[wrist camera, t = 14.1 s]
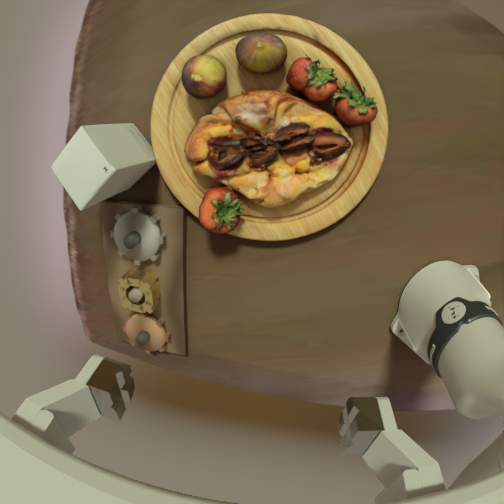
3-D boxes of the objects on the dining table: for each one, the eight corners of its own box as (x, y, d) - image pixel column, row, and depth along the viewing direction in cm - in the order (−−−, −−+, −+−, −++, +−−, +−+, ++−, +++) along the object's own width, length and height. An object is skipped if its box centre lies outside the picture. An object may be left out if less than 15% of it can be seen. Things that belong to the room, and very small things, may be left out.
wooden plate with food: (269, 278, 45) (267, 308, 38) (115, 137, 39) (84, 140, 31) (424, 135, 35) (453, 137, 27) (264, -18, 28) (260, -46, 21)
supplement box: (133, 121, 38) (82, 122, 26) (162, 159, 40) (117, 171, 28) (102, 154, 40) (48, 167, 28) (128, 190, 42) (80, 213, 30)
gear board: (186, 206, 42) (174, 216, 37) (187, 350, 53) (180, 368, 48) (105, 199, 43) (87, 208, 38) (121, 335, 53) (110, 351, 49)
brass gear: (159, 272, 45) (151, 282, 42) (161, 304, 47) (154, 315, 44) (125, 266, 45) (116, 275, 42) (129, 298, 48) (121, 308, 45)
